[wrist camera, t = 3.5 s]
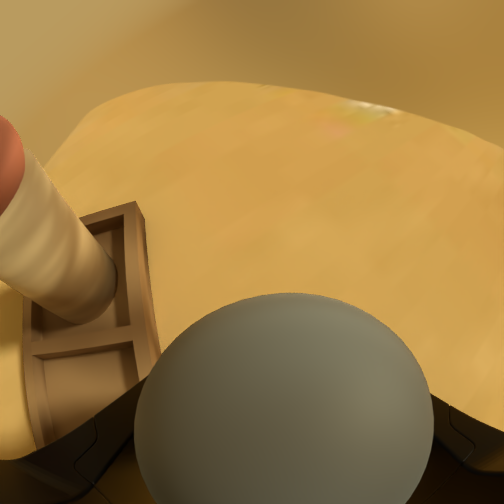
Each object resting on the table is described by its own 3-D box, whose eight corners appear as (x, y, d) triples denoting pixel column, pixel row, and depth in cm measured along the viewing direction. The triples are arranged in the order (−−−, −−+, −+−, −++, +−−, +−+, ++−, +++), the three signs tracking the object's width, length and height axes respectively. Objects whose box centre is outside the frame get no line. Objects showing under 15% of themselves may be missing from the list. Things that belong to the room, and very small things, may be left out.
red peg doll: (107, 331, 14) (-78, 186, 3) (45, 315, 14) (-106, 197, 3) (126, 251, 16) (18, 66, 5) (66, 246, 17) (-42, 103, 5)
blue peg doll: (306, 453, 12) (465, 572, 1) (209, 446, 12) (70, 575, 1) (313, 363, 14) (485, 241, 3) (218, 357, 14) (110, 208, 3)
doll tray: (193, 479, 11) (185, 490, 9) (64, 478, 10) (46, 482, 8) (144, 219, 19) (135, 200, 17) (45, 248, 17) (31, 234, 16)
